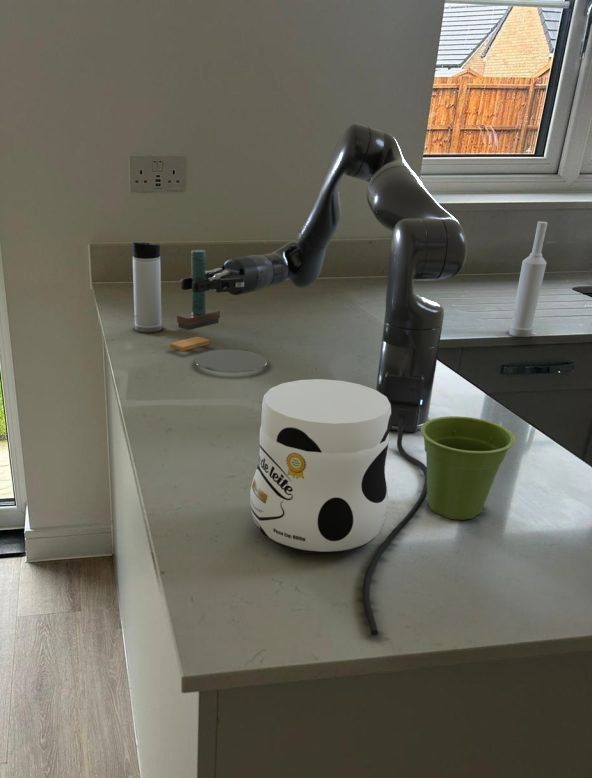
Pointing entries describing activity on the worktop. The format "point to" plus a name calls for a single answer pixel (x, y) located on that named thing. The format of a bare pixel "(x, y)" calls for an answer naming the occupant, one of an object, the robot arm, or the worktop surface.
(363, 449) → the milk container
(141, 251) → the travel mug
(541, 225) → the bottle
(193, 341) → the crust
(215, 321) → the peg on stand
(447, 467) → the plant pot
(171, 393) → the worktop surface
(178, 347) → the block
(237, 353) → the turntable plate
